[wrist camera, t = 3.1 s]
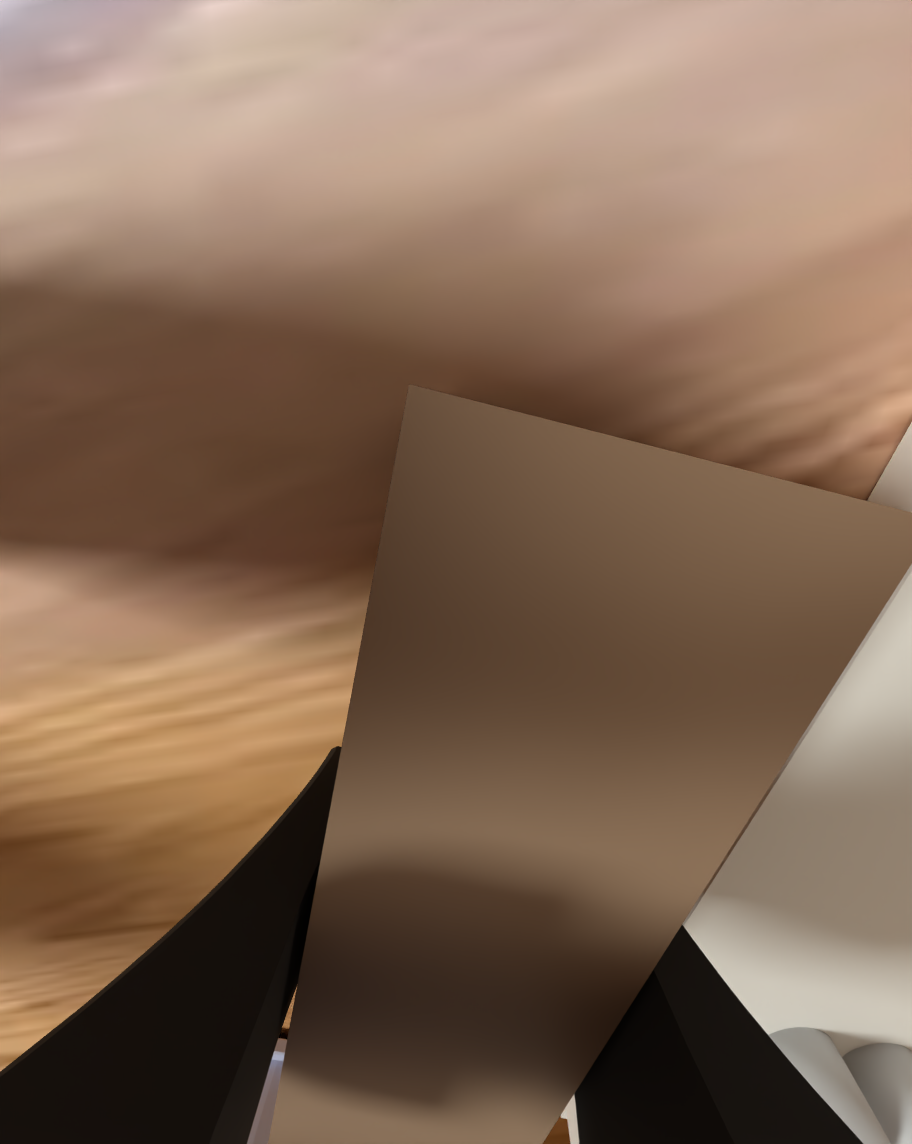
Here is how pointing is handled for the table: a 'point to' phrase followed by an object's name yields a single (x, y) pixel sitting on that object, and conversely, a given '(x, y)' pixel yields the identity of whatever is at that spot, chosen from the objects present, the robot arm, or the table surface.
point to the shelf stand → (833, 883)
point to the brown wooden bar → (550, 756)
